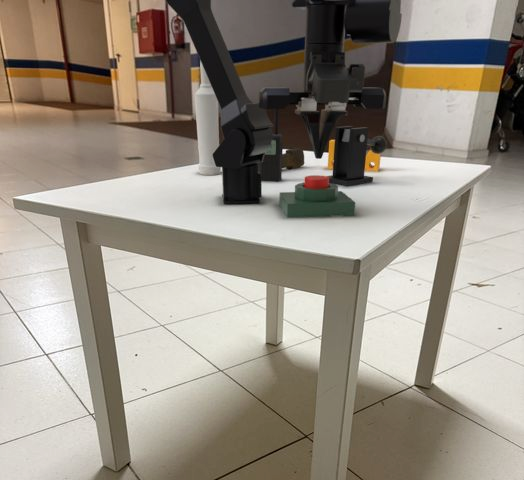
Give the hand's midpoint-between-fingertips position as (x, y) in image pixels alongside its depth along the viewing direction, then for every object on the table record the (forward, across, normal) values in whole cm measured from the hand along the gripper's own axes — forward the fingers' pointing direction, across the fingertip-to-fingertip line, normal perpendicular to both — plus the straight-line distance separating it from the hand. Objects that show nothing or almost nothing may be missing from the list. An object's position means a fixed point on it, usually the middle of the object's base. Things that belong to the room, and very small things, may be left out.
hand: (318, 158), depth 80 cm
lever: (+2, +16, +26) cm, 30 cm away
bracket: (+8, +12, +24) cm, 28 cm away
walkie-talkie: (+8, -4, +28) cm, 29 cm away
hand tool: (+8, -1, +40) cm, 41 cm away
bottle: (+8, -17, +39) cm, 43 cm away
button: (+5, 0, 0) cm, 5 cm away
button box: (+8, 0, 0) cm, 8 cm away
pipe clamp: (+8, +18, +40) cm, 45 cm away
